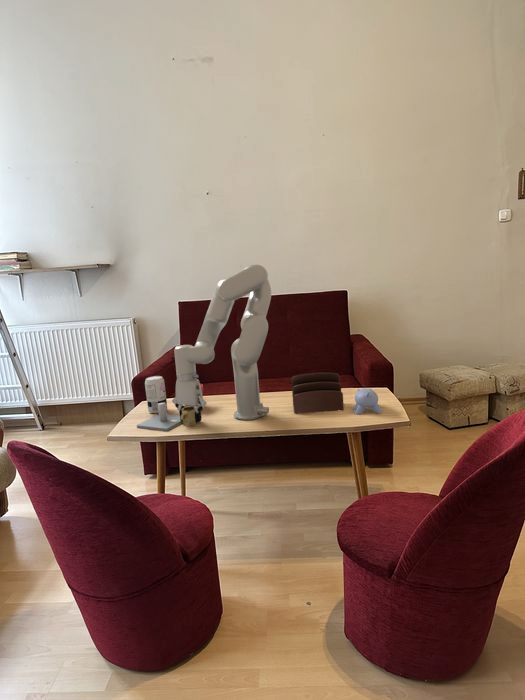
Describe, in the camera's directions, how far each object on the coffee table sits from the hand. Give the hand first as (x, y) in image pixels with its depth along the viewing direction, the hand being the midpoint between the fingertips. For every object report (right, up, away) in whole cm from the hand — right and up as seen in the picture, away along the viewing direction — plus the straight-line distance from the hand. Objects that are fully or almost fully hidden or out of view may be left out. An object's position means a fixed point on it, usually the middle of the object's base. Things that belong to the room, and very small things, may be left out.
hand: (190, 420), depth 178 cm
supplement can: (-17, +1, +19) cm, 26 cm away
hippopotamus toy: (+70, +4, 0) cm, 70 cm away
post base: (-11, -1, +3) cm, 12 cm away
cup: (0, -1, -1) cm, 1 cm away
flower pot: (-2, +2, +20) cm, 21 cm away
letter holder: (+51, +4, +6) cm, 51 cm away
